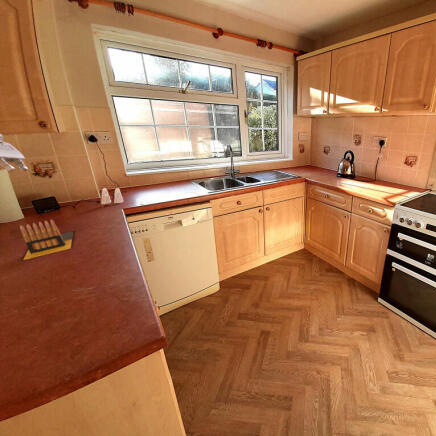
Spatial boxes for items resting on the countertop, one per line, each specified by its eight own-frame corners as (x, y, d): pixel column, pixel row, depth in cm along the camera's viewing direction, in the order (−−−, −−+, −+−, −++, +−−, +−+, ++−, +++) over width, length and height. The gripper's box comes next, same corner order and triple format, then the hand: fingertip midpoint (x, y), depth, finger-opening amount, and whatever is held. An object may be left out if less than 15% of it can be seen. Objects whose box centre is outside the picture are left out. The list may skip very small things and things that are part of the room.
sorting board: (24, 262, 93) (22, 259, 93) (34, 242, 110) (33, 239, 109) (71, 250, 101) (70, 248, 101) (74, 233, 118) (73, 231, 117)
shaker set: (102, 206, 155) (96, 190, 151) (102, 205, 158) (96, 188, 154) (124, 202, 162) (119, 186, 157) (123, 201, 165) (118, 185, 160)
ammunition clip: (65, 243, 105) (54, 218, 100) (65, 245, 103) (53, 219, 99) (31, 252, 99) (17, 225, 94) (30, 253, 97) (16, 226, 93)
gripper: (-7, 144, 97) (25, 174, 102) (-48, 138, 79) (-7, 175, 84) (10, 136, 99) (40, 166, 104) (-26, 129, 81) (12, 165, 86)
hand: (19, 170), depth 94 cm, fingers open, 8 cm apart
